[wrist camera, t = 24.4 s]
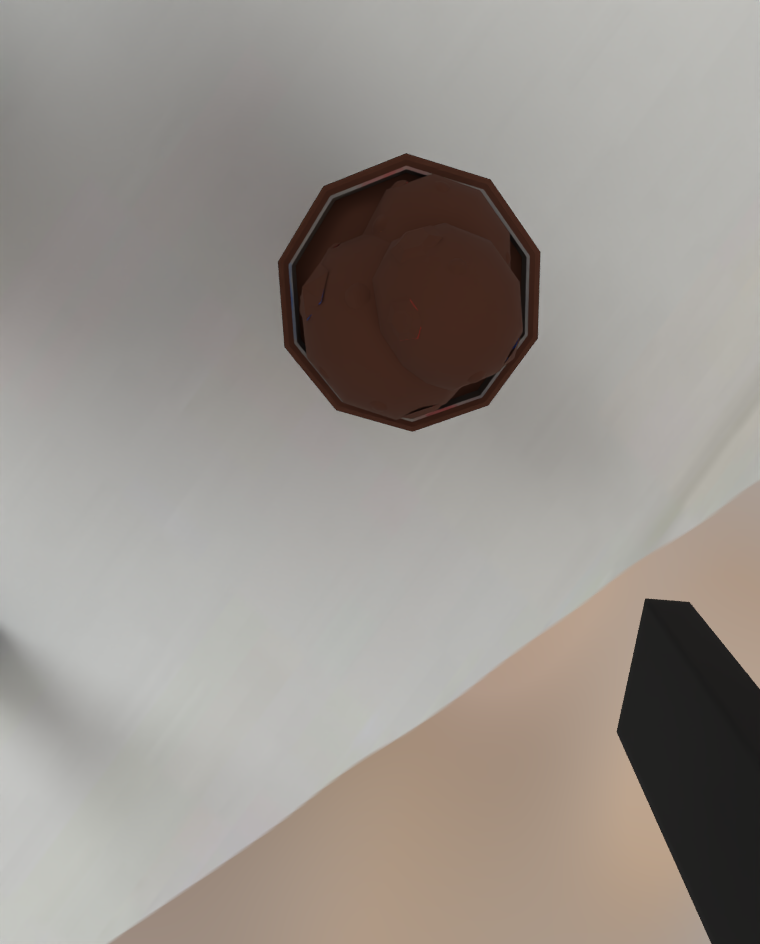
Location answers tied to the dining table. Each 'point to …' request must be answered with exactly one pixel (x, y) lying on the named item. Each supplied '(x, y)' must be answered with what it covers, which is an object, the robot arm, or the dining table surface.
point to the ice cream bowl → (410, 293)
